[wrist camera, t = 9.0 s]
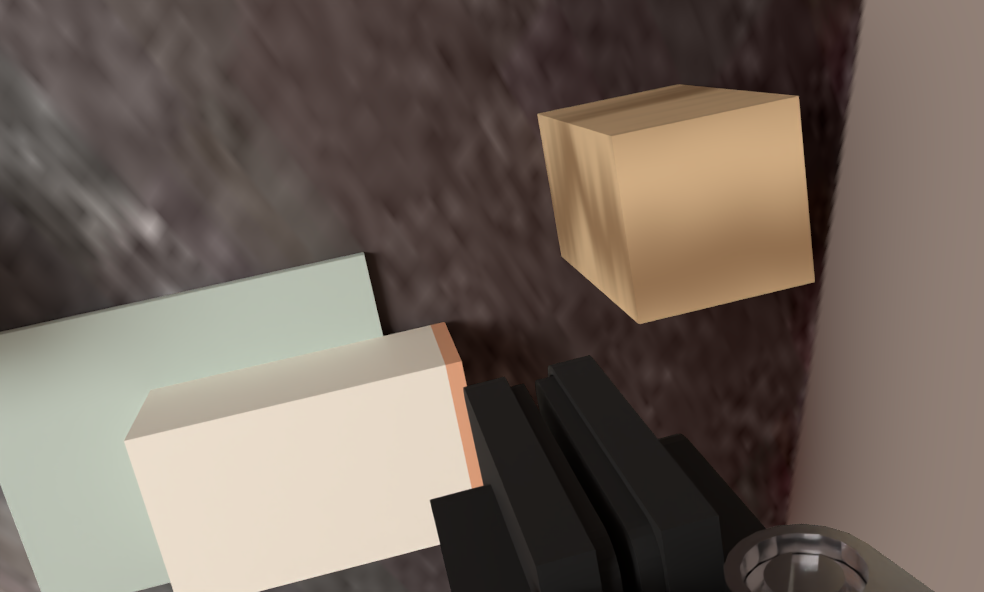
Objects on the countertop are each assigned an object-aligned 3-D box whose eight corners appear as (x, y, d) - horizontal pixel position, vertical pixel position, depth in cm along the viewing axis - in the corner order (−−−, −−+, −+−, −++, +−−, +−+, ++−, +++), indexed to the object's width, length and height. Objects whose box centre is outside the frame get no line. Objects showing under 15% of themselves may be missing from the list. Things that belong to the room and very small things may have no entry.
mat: (-48, 342, 35) (-53, 346, 34) (363, 252, 37) (364, 254, 36) (52, 606, 38) (49, 613, 38) (424, 511, 40) (425, 517, 40)
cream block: (444, 321, 38) (150, 389, 36) (461, 361, 33) (123, 441, 31) (476, 472, 40) (198, 542, 38) (496, 529, 35) (180, 611, 33)
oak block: (537, 113, 37) (611, 136, 27) (678, 84, 37) (798, 96, 28) (561, 256, 38) (638, 324, 29) (695, 225, 39) (814, 282, 29)
